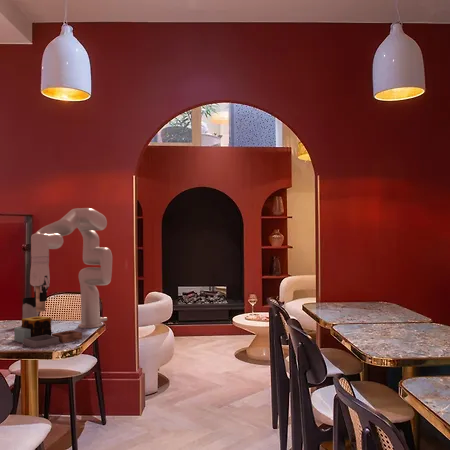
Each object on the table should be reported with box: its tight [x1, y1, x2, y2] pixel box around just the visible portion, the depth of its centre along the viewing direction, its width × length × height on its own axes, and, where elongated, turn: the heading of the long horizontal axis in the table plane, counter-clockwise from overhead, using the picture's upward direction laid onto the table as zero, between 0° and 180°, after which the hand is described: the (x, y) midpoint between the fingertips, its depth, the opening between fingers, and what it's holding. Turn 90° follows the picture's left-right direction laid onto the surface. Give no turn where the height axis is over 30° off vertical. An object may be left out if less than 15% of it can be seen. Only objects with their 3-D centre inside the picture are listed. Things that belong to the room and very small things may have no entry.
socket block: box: [51, 330, 83, 344], centre depth 232 cm, size 10×10×3 cm
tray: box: [23, 334, 60, 349], centre depth 223 cm, size 11×11×3 cm
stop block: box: [13, 326, 31, 344], centre depth 230 cm, size 3×10×6 cm, turn 48°
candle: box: [21, 315, 53, 337], centre depth 235 cm, size 10×10×10 cm
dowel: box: [36, 284, 46, 313], centre depth 224 cm, size 4×4×12 cm
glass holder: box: [22, 297, 40, 319], centre depth 274 cm, size 9×14×15 cm, turn 167°
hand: (40, 300), depth 223 cm, fingers closed on dowel, 4 cm apart
